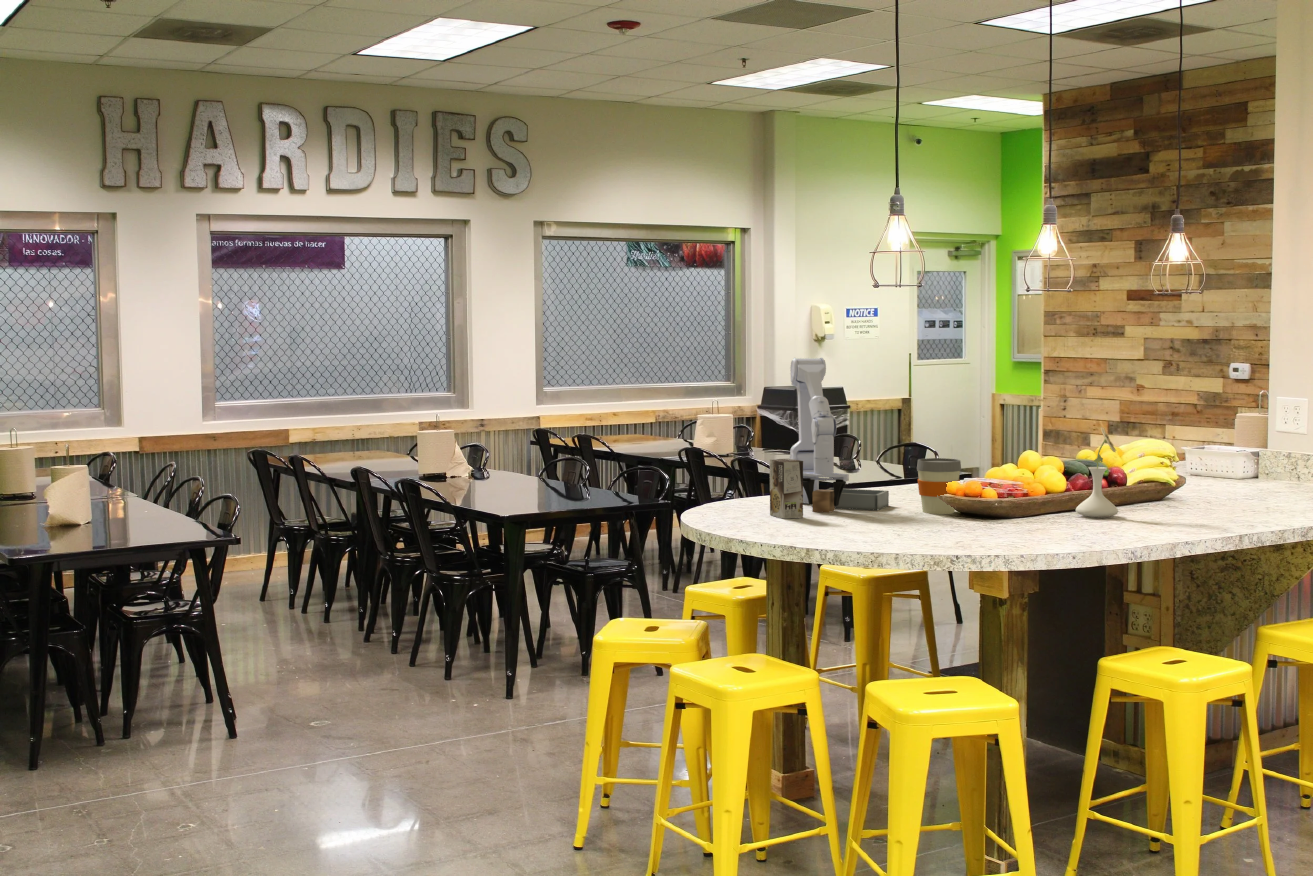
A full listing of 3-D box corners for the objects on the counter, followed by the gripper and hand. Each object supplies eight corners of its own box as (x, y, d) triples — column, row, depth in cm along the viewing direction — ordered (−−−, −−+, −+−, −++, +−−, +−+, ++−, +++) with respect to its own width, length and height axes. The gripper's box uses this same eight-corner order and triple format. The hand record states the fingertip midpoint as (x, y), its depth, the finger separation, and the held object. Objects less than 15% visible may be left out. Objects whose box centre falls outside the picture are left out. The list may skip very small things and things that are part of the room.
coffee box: (804, 518, 379) (804, 460, 378) (783, 519, 376) (783, 461, 375) (789, 514, 387) (789, 457, 386) (768, 515, 385) (768, 458, 384)
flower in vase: (1110, 520, 370) (1112, 429, 368) (1069, 517, 376) (1071, 428, 375) (1125, 515, 380) (1127, 426, 378) (1085, 512, 387) (1087, 425, 385)
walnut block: (812, 512, 392) (812, 491, 391) (818, 509, 396) (818, 489, 396) (829, 512, 390) (829, 492, 389) (834, 510, 394) (834, 490, 394)
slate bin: (818, 507, 401) (818, 492, 400) (830, 502, 412) (830, 488, 411) (877, 510, 393) (877, 495, 393) (888, 505, 404) (888, 490, 404)
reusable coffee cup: (964, 514, 383) (965, 462, 382) (920, 515, 383) (920, 462, 382) (955, 509, 396) (956, 458, 394) (912, 509, 396) (913, 458, 395)
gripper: (795, 458, 391) (795, 505, 392) (843, 460, 385) (843, 507, 386) (803, 456, 397) (803, 502, 398) (851, 458, 391) (850, 504, 392)
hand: (823, 504), depth 393 cm, fingers open, 7 cm apart
